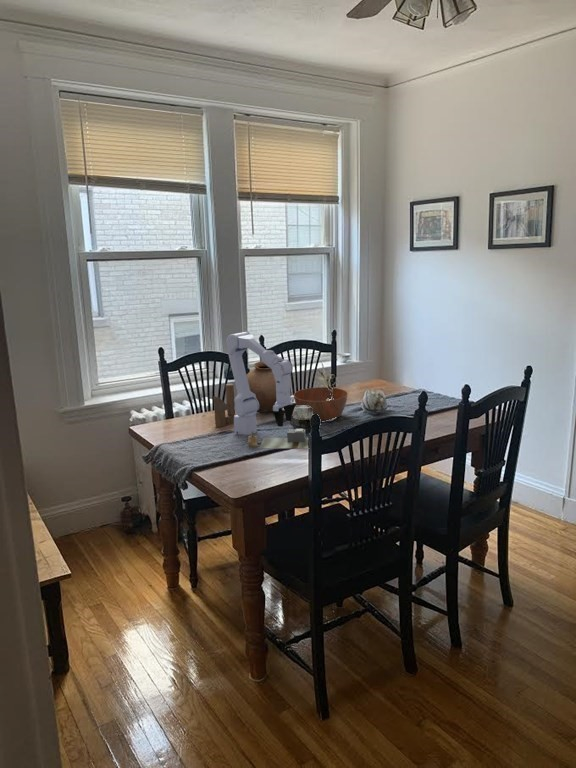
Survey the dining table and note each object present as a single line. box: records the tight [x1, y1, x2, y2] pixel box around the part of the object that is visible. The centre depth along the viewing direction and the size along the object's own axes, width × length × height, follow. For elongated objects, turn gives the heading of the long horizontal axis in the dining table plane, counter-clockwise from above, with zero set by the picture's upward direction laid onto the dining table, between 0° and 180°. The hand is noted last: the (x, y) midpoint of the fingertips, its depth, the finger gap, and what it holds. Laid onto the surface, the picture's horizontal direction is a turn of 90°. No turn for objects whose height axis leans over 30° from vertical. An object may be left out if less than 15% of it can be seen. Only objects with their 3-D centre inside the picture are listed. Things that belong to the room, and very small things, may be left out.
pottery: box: [244, 361, 284, 415], centre depth 273 cm, size 23×23×25 cm
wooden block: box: [212, 383, 237, 428], centre depth 259 cm, size 4×11×18 cm, turn 140°
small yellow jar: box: [247, 432, 259, 448], centre depth 227 cm, size 4×4×7 cm
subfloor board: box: [259, 437, 309, 449], centre depth 229 cm, size 20×12×1 cm, turn 84°
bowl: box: [293, 386, 349, 423], centre depth 263 cm, size 25×25×11 cm
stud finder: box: [286, 428, 307, 442], centre depth 231 cm, size 7×4×4 cm, turn 84°
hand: (284, 423), depth 229 cm, fingers open, 7 cm apart
